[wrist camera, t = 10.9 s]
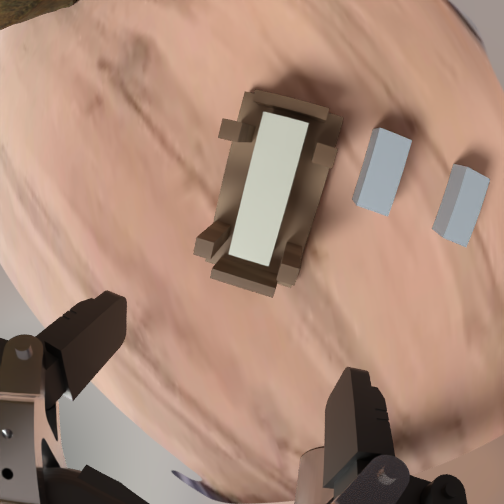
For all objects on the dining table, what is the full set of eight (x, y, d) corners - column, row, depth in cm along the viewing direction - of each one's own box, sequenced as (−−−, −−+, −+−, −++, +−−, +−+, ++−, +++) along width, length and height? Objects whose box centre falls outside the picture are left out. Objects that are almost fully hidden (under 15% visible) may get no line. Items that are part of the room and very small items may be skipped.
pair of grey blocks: (454, 237, 26) (466, 247, 24) (352, 199, 27) (356, 205, 25) (475, 175, 24) (489, 179, 21) (373, 129, 25) (380, 127, 22)
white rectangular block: (308, 126, 25) (308, 123, 21) (274, 250, 29) (268, 266, 26) (270, 116, 25) (263, 111, 21) (239, 239, 30) (228, 254, 26)
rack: (291, 282, 31) (286, 316, 25) (208, 257, 32) (185, 284, 26) (342, 118, 25) (352, 110, 19) (247, 93, 26) (229, 79, 20)
